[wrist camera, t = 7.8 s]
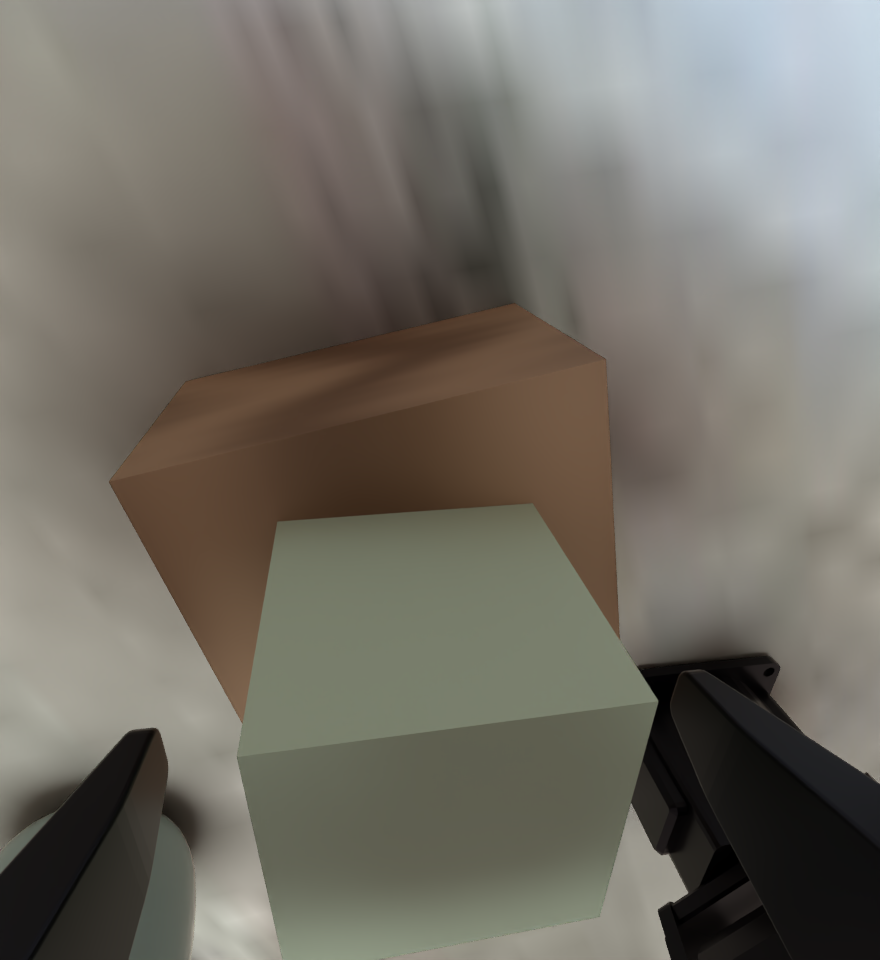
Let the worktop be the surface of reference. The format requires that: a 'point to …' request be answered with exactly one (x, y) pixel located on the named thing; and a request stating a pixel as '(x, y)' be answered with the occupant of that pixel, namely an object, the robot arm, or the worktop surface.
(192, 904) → the cup
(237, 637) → the walnut block
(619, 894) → the worktop surface
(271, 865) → the green cube
